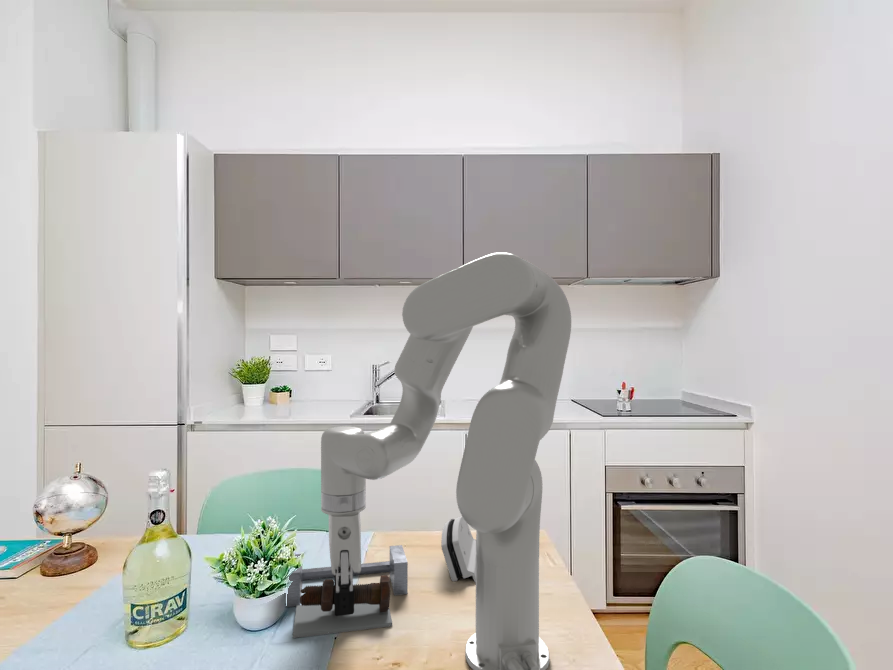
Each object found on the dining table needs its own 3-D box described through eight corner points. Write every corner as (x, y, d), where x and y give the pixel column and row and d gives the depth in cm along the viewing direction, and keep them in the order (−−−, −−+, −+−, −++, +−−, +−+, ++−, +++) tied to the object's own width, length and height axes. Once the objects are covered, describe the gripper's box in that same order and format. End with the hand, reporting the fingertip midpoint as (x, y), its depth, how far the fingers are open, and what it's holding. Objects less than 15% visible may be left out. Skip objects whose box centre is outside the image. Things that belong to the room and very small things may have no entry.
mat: (392, 626, 87) (392, 622, 87) (292, 638, 83) (292, 634, 83) (386, 598, 95) (386, 595, 95) (296, 608, 92) (296, 605, 92)
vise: (407, 593, 97) (407, 562, 97) (285, 607, 92) (285, 573, 92) (399, 567, 108) (399, 538, 108) (290, 577, 103) (290, 548, 103)
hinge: (477, 582, 102) (459, 534, 102) (454, 589, 102) (437, 541, 102) (481, 547, 118) (467, 506, 119) (462, 553, 119) (447, 512, 119)
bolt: (299, 616, 88) (387, 613, 91) (297, 613, 84) (390, 610, 87) (303, 579, 92) (388, 577, 94) (301, 574, 88) (390, 572, 90)
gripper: (369, 515, 82) (369, 630, 82) (362, 484, 98) (363, 580, 98) (320, 518, 80) (320, 636, 80) (322, 487, 97) (322, 584, 97)
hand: (343, 604), depth 89 cm, fingers closed on bolt, 4 cm apart
